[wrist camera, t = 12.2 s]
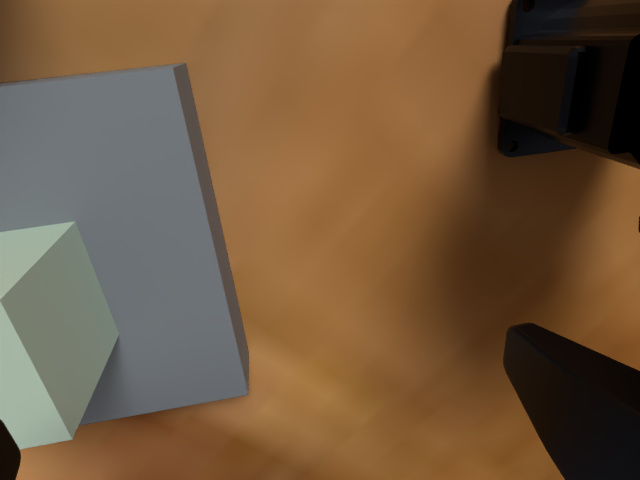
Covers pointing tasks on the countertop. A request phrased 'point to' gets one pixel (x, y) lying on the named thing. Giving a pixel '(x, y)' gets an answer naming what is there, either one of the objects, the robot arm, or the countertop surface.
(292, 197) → the countertop surface
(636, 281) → the countertop surface
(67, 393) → the green cube
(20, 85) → the base
